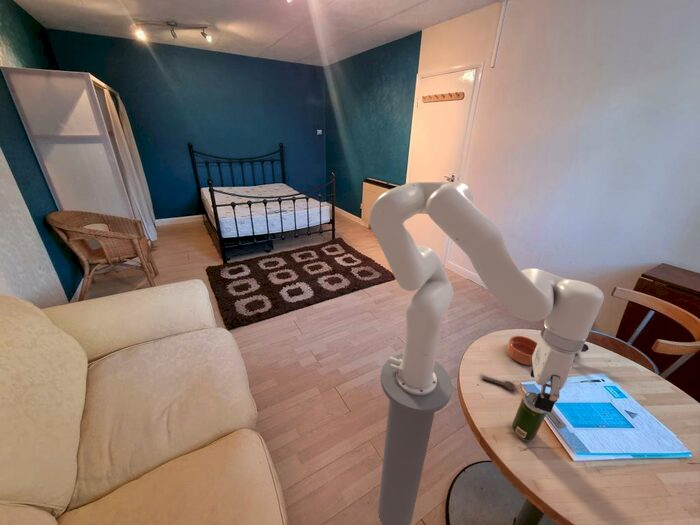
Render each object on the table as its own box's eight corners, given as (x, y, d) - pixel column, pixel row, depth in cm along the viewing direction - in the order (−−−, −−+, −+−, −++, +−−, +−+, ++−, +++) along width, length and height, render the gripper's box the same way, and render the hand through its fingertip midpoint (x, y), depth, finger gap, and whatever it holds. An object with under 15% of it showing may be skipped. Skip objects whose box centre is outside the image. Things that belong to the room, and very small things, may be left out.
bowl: (506, 360, 96) (509, 350, 94) (506, 342, 104) (509, 332, 102) (540, 370, 92) (544, 360, 90) (537, 350, 100) (541, 341, 98)
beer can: (532, 446, 70) (547, 414, 65) (508, 432, 73) (521, 401, 68) (536, 430, 74) (551, 399, 69) (514, 418, 77) (526, 387, 72)
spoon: (482, 381, 88) (482, 379, 88) (482, 374, 90) (483, 373, 90) (514, 392, 84) (515, 390, 84) (514, 385, 87) (514, 383, 87)
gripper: (537, 310, 69) (519, 363, 76) (546, 357, 54) (524, 416, 62) (574, 318, 66) (552, 372, 73) (595, 370, 52) (565, 430, 59)
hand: (539, 392), depth 67 cm, fingers open, 9 cm apart
